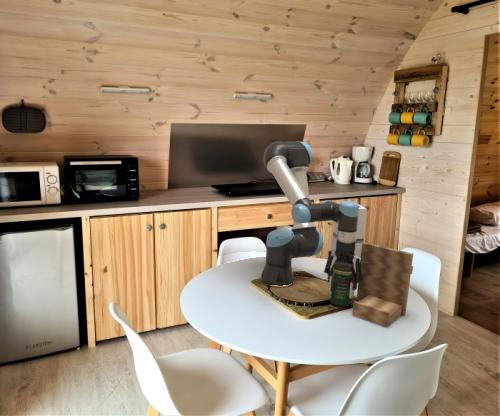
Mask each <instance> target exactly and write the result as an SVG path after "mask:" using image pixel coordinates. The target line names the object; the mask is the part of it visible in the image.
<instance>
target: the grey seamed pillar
mask: <svg viewBox="0 0 500 416" xmlns="http://www.w3.org/2000/svg"><path fill="white" fill-rule="evenodd" d="M357 204H358V205H359V216H358V224H357V233H356V241H355V243H356V244H355V252H354V254H355V256H357V257H361V248H362V243H364V242H365V241H364V240H365V231H366V230H365V229H366V222H367V212H368V208H367V207H364V206H363V205H361V204H359V203H357ZM332 227H333V228H332V229H333V230H332V239H331V250H333V251H336V241H337V240H338V239H337V230H338V223H336V222H334V221H333V226H332ZM336 259H337V257H336V255H334V257H333V261H332V264H331V267H332V266H333V264H334V262H335V260H336ZM352 261H353V262H354V269H355V272H356V267H355V260H354V259H353V260H352ZM331 267H330V269H331Z"/></svg>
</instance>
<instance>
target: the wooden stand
mask: <svg viewBox="0 0 500 416" xmlns="http://www.w3.org/2000/svg"><path fill="white" fill-rule="evenodd" d="M360 257H361V258H362V260H361V270H362V281H361V282H359V283H357V289H356V291H357V292H356V300H357V299H358V300H360V301H356V300H354V301H353V303H352V311H351V312H352V313H351V314H352V316H354V317H355V318H356V317H357V318H358V319H359V318H360V319H362V320H366V321H368V322H371V323H373V324H376V325H379V326H383V327H386V328H388V327H390V326H391V324H393V323H394V322H395V321H396V320H397V319H399V318H400V317H401V316H402V315H403V317H404V316H405V315H406V313H407V305H408V298H409V290H410V283H411V275H412V274H413V270H414V266H413V261H414V260H413V258H414V253H413V252H412V253H411V252H408V251H403V250H399V249H397V248H396V249H395V248H391V247H386V246H383V245H378V244H374V243H370V242H365V241H364V242H363V243H362V246H361V250H360ZM399 316H400V317H399Z"/></svg>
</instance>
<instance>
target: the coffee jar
mask: <svg viewBox="0 0 500 416" xmlns="http://www.w3.org/2000/svg"><path fill="white" fill-rule="evenodd" d="M353 267H354V262H353V264H351V262H350V264H348V263H347V262H345V261H344V260H340V261H336V262H334V270H333V280H332V290H331V291H330V300H331V301H330V303H331V304H332V305H334V306H336V305H338V306H337V307H348V306H349V304H350V302H351V298H349V294H350V284H351V282H352V278H351V275H352V271H353Z"/></svg>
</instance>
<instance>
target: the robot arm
mask: <svg viewBox="0 0 500 416" xmlns="http://www.w3.org/2000/svg"><path fill="white" fill-rule="evenodd" d="M313 157H314V155H313V150H312V148H311V146H310V145H309V144H308V143H306V142H305V141H299V140H298V141H282V140H281V141H274V142H272V143H270V144H269V145H268V146H267V147H266V148H265V150H264V153H263V163H264V166H265V168H266V170H267V171H268V172H269V173H271V174H272V175H273V177H274V179H275V181H276V182H277V184H278V185H279V187H280V188H281V190H282V192H283V194H284V195H285V197H286V199H287V200H288V202H289V203H290V205H291V210H290V211H291V212H290V213H291V218H292V220H293V226H292V227H291V229H286V228H284V229H281V228H280V229H274V230H272V231H270V232H269V233H268V234H267V237H266V242H265V243H266V250H265V252H266V253H265V264H264V267H263V270H262V273H261V275H260V281H262V282H263V283H262V282H261V283H262V284H264V283H265V284H267V285H266V286H268V285H278V286H283V285H289V284H291V283H293V282H294V283H295V276H294V272H293V267H292V262H293V261H292V260H293V259H299V258H306V257H314V256H317V255H318V254H320V253H321V251H322V249H323V247H324V246H323V245H324V236H323V235H322V232H321V231H320V230H318V229H317V225H315V224H314V223H317V222H321V223H322V222H333V223H334V222H336V223H338V230H337V239H338V240H337V241H336V251H333V250H332V249H331V250H329V251H328V252H327V253H328V254H327V255H328V257H327V259H326V263H325V266H324V271H323V272H324V274H326V275H327V283H328V292H331V290H332V280H333V270H334V264H333V266H332V267H331V264H332V261H333V257H334V255H336V257H337V259H336V260H335V262H336V261H340V260H344V261H345V262H347V263H348V264H350V262H351V264H353V261H352V260H353V259H354V260H355V267H356V272H355V269H354V267H353V271H352V275H351V278H352V282H351V284H350V294H349V298H350V299H352V298H353V297H355V291H357V290H358V283H359V282H361V281H362V270H361V260H362V258H361V256H360V257H357V256H355V254H354V252H355V244H356V243H355V241H356V233H357V224H358V216H359V205H360V204H359V203H358V202H354V201H345V200H344V201H340V203H337V202H335V201H332V200H324V201H323V202H316V203H312V201H311V200H310V191H309V184H308V176H307V172H308V171H309V169H310V168H309V167H310V165H312V163H313ZM358 204H359V205H358ZM330 267H331V269H330ZM265 284H264V285H265Z"/></svg>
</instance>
